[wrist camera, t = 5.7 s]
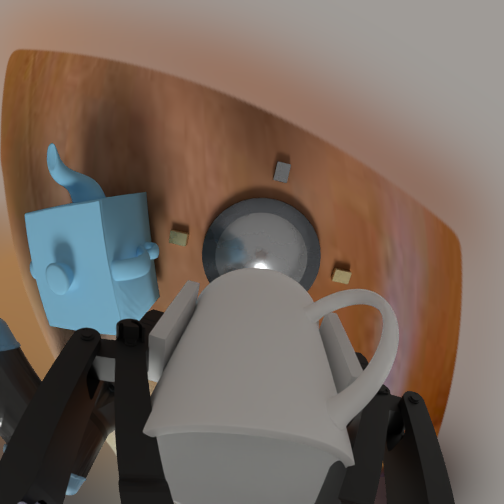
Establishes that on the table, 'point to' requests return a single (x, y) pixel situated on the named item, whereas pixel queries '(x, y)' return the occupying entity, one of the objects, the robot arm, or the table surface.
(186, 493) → the mug
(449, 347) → the table surface
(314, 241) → the socket pad
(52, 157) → the teapot
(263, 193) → the table surface
